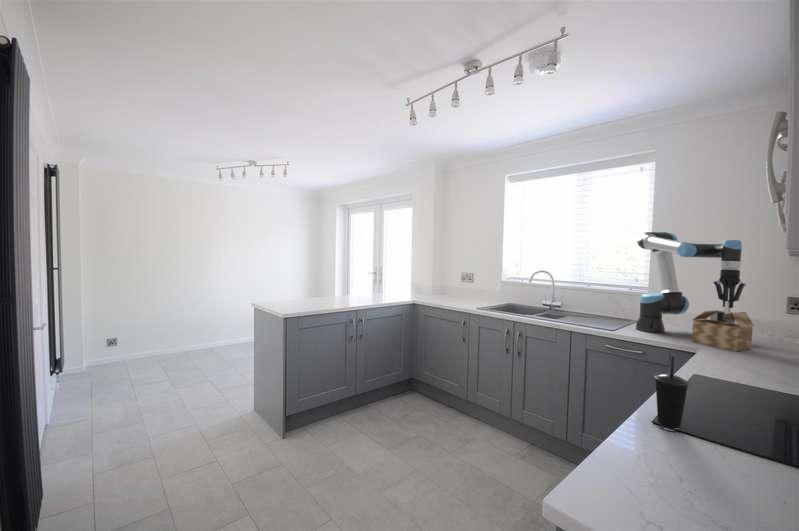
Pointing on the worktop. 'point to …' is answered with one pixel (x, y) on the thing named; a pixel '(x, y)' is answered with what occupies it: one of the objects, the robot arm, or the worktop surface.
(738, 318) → the flap
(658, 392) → the drinking cup
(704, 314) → the flap
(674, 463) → the worktop surface
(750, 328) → the carton
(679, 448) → the worktop surface
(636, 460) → the worktop surface
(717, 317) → the coffee box
